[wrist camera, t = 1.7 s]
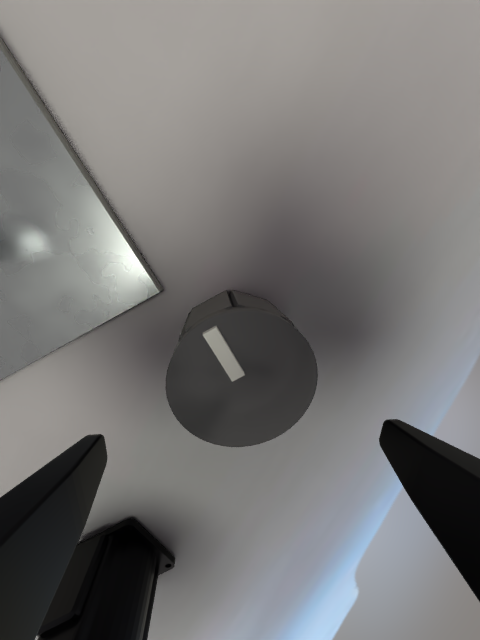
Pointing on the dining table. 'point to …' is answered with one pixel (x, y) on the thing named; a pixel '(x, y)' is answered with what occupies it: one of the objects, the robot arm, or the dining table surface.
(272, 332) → the knob
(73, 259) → the mounting plate
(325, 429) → the dining table surface
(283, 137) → the dining table surface
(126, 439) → the dining table surface
